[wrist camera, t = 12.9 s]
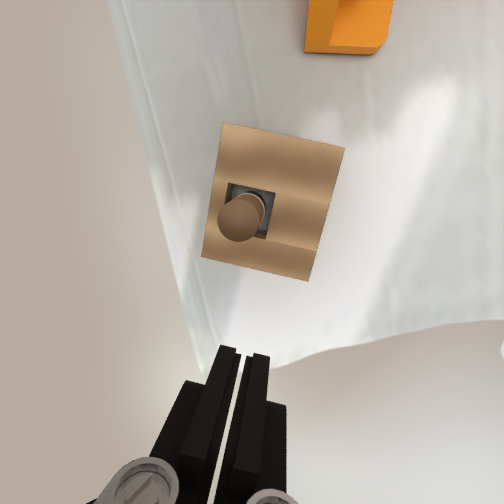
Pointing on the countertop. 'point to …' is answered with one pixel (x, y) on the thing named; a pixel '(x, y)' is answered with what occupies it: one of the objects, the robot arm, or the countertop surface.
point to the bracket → (347, 26)
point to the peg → (242, 216)
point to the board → (285, 203)
